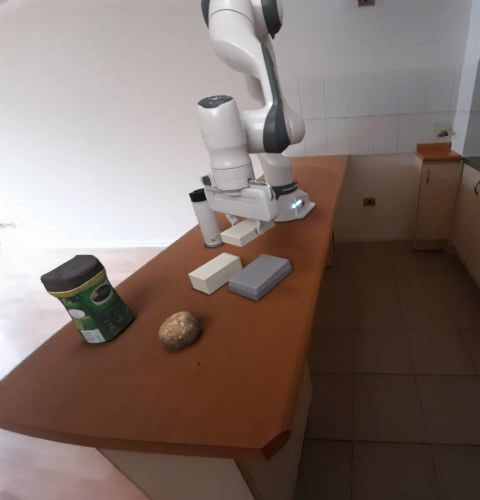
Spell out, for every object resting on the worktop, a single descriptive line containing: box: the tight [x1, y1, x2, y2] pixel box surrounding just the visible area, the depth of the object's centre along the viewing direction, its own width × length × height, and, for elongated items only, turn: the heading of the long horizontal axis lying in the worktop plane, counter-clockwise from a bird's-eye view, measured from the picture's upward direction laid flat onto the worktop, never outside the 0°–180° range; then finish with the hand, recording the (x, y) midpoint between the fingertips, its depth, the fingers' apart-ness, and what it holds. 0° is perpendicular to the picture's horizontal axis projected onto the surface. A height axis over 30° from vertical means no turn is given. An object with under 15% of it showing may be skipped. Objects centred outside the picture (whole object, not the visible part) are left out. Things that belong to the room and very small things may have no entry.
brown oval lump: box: [157, 310, 202, 350], centre depth 60 cm, size 8×8×6 cm
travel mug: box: [188, 187, 224, 248], centre depth 94 cm, size 6×7×20 cm
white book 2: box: [190, 263, 244, 295], centre depth 79 cm, size 12×6×2 cm, turn 151°
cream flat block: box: [220, 218, 276, 248], centre depth 70 cm, size 12×6×2 cm, turn 151°
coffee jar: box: [40, 254, 134, 344], centre depth 60 cm, size 10×8×19 cm
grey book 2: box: [227, 264, 293, 302], centre depth 77 cm, size 15×10×2 cm, turn 151°
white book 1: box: [187, 251, 242, 287], centre depth 78 cm, size 12×6×2 cm, turn 151°
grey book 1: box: [227, 253, 291, 294], centre depth 76 cm, size 14×10×2 cm, turn 154°
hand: (248, 230), depth 70 cm, fingers closed on cream flat block, 6 cm apart
